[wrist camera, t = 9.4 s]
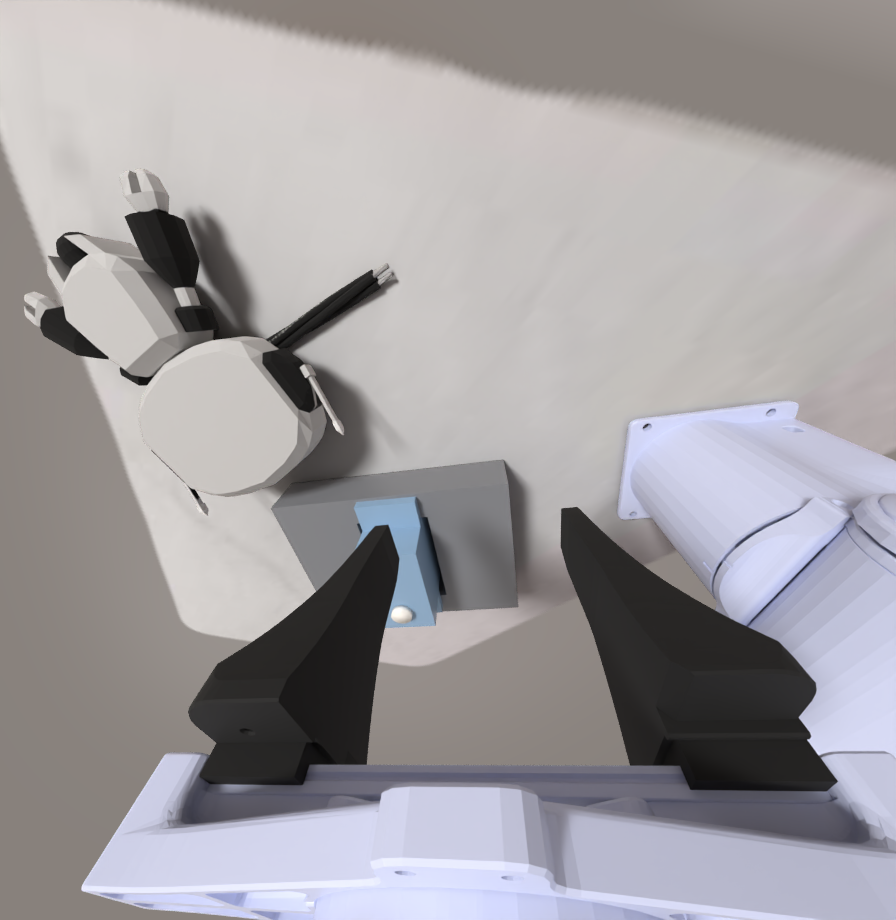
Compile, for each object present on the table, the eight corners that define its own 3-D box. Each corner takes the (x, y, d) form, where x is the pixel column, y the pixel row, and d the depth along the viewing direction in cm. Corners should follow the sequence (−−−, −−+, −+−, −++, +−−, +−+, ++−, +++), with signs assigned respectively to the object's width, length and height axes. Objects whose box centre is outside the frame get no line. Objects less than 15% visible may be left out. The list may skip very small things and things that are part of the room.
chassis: (503, 459, 22) (508, 483, 19) (513, 576, 28) (518, 607, 25) (291, 483, 24) (270, 508, 21) (342, 588, 30) (330, 617, 27)
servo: (420, 475, 22) (407, 533, 17) (444, 580, 28) (439, 647, 23) (367, 481, 23) (338, 538, 18) (400, 582, 28) (386, 649, 23)
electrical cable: (386, 259, 17) (382, 259, 16) (396, 279, 17) (393, 279, 16) (227, 365, 20) (217, 370, 19) (239, 379, 21) (229, 384, 20)
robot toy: (72, 307, 19) (248, 492, 24) (-34, 308, 15) (202, 528, 20) (196, 169, 16) (372, 418, 21) (99, 122, 12) (346, 445, 17)
